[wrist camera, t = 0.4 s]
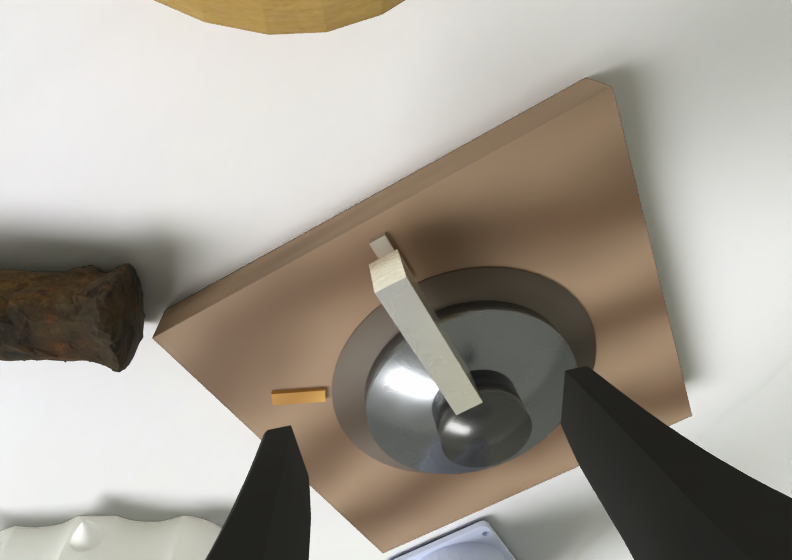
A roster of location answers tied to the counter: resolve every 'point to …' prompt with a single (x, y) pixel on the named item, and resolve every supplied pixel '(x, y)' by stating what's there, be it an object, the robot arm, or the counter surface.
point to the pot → (282, 13)
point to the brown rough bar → (71, 315)
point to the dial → (461, 378)
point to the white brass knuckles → (111, 540)
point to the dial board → (443, 306)
